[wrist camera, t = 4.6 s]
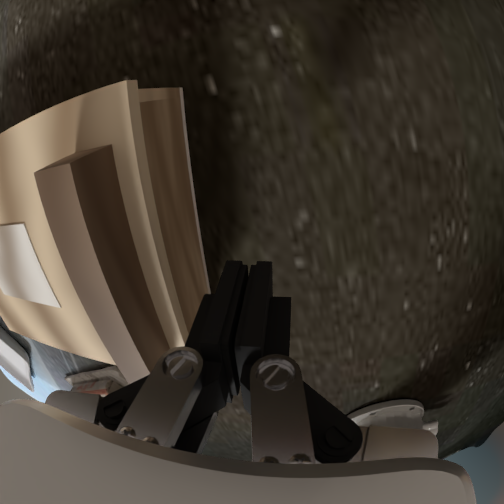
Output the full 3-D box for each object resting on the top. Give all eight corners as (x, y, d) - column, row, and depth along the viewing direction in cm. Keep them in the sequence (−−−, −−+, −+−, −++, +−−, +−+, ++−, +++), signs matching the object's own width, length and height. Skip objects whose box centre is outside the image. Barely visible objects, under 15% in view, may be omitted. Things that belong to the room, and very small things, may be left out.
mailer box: (182, 87, 14) (129, 89, 9) (213, 305, 22) (193, 365, 17) (-2, 148, 16) (-48, 171, 11) (45, 286, 25) (15, 322, 20)
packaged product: (98, 425, 38) (55, 393, 34) (107, 405, 42) (66, 373, 38) (158, 430, 31) (101, 391, 27) (168, 402, 35) (116, 362, 31)
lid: (137, 79, 8) (82, 82, 6) (200, 371, 17) (188, 413, 14) (-52, 170, 11) (-78, 187, 8) (13, 324, 20) (-3, 346, 17)
